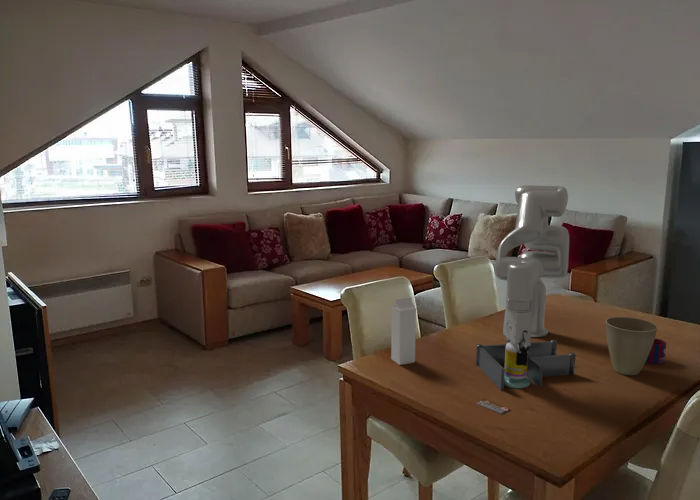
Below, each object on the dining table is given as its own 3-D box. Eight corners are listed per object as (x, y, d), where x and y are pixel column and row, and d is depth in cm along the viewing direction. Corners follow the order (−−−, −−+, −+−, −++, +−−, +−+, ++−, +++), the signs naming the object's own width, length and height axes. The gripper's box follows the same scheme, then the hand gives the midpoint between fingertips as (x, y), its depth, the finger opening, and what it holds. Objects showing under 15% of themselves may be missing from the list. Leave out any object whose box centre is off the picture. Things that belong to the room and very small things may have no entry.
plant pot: (650, 384, 177) (655, 334, 174) (598, 374, 185) (601, 326, 182) (654, 367, 190) (659, 321, 187) (605, 358, 198) (609, 313, 194)
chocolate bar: (514, 412, 161) (514, 409, 161) (503, 418, 158) (504, 415, 158) (481, 399, 170) (482, 396, 169) (471, 404, 166) (471, 401, 166)
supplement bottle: (526, 381, 175) (528, 341, 173) (503, 378, 177) (505, 338, 175) (527, 372, 182) (529, 333, 179) (505, 370, 184) (507, 331, 181)
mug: (659, 366, 191) (661, 346, 190) (628, 357, 199) (630, 338, 197) (667, 361, 195) (669, 341, 194) (637, 352, 203) (639, 334, 202)
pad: (495, 377, 183) (495, 374, 183) (522, 375, 185) (522, 373, 185) (507, 389, 175) (507, 386, 175) (535, 387, 176) (535, 384, 176)
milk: (415, 362, 196) (416, 299, 191) (399, 365, 193) (400, 301, 189) (406, 356, 201) (407, 294, 197) (390, 358, 199) (391, 296, 194)
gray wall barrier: (474, 363, 194) (475, 344, 193) (554, 358, 198) (555, 339, 197) (499, 390, 174) (500, 368, 173) (586, 383, 178) (588, 362, 177)
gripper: (495, 296, 183) (493, 350, 186) (519, 313, 166) (516, 372, 170) (518, 295, 184) (515, 349, 187) (544, 312, 167) (540, 370, 171)
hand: (516, 359), depth 178 cm, fingers closed on supplement bottle, 6 cm apart
